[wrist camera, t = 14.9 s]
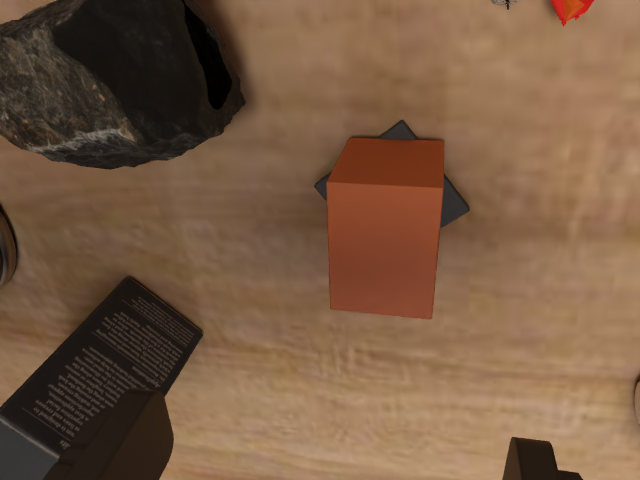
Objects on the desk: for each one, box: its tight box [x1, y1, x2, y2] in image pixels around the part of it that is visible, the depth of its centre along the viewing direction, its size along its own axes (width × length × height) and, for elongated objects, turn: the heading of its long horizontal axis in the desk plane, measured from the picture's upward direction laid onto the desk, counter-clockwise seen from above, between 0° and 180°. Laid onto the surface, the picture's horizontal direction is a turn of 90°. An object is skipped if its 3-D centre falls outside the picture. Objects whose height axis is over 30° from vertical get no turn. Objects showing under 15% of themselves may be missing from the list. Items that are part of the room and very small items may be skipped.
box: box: [0, 277, 203, 480], centre depth 27 cm, size 8×6×11 cm
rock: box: [0, 0, 246, 169], centre depth 20 cm, size 8×7×10 cm
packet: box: [326, 138, 444, 319], centre depth 21 cm, size 6×4×5 cm
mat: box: [314, 120, 469, 228], centre depth 24 cm, size 5×5×1 cm
